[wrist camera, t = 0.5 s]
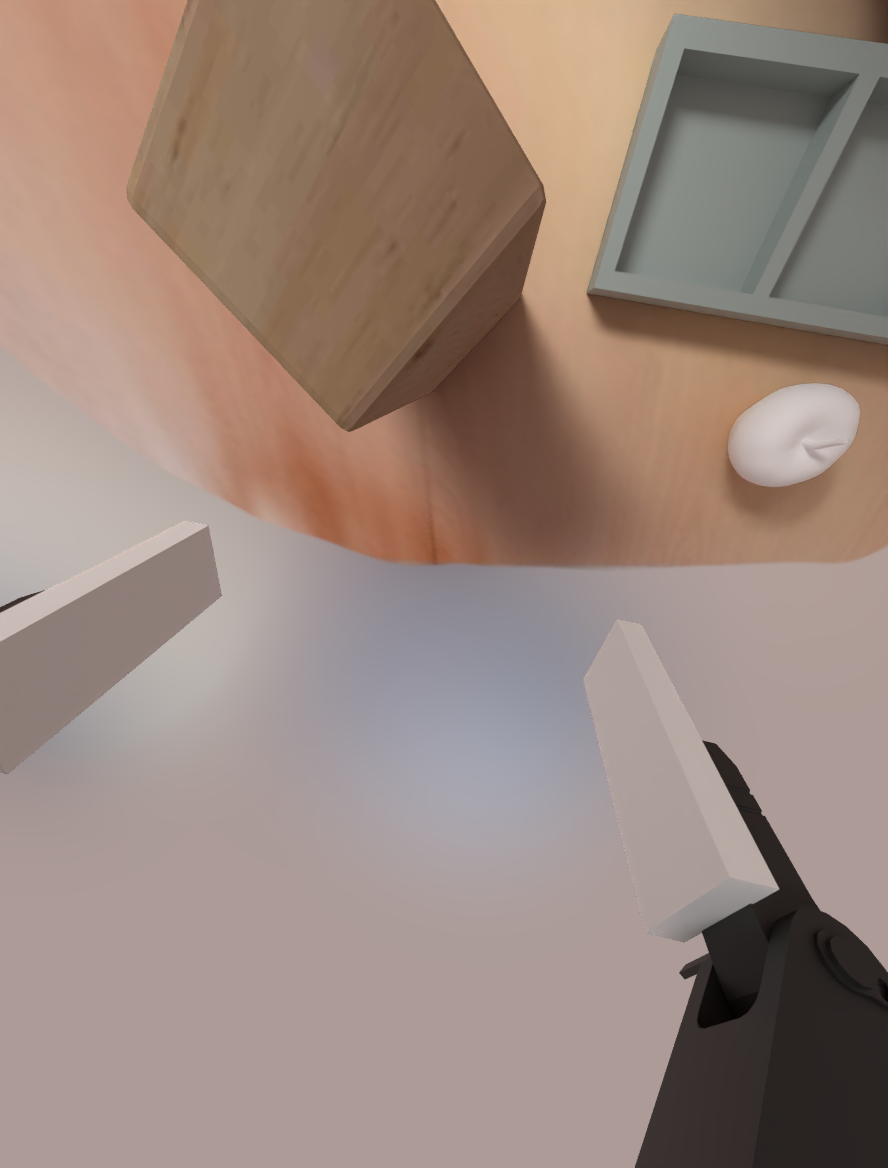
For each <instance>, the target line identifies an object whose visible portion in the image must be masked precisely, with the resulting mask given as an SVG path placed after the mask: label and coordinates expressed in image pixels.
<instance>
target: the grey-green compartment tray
mask: <svg viewBox="0 0 888 1168" xmlns="http://www.w3.org/2000/svg"><path fill="white" fill-rule="evenodd" d="M587 293H588V294H594V295H600V296H605V297H611V298H617V299H623V300H629V301H634V302H640V303H646V304H652V305H658V306H663V307H669V308H675V309H681V310H687V311H692V312H698V313H704V314H710V315H716V316H722V317H727V318H733V319H739V320H745V321H751V322H756V323H762V324H768V325H774V326H780V327H785V328H791V329H797V330H803V331H809V332H814V333H820V334H826V335H832V336H838V337H843V338H849V339H855V340H861V341H867V342H872V343H878V344H884V345H888V44H886V43H879V42H872V41H865V40H858V39H851V38H843V37H836V36H829V35H822V34H815V33H808V32H801V31H794V30H787V29H780V28H773V27H766V26H759V25H752V24H745V23H738V22H731V21H724V20H717V19H710V18H703V17H696V16H689V15H682V14H674V16H673V18H672V20H671V22H670V24H669V26H668V28H667V30H666V32H665V34H664V36H663V38H662V40H661V42H660V44H659V46H658V48H657V50H656V54H655V57H654V61H653V64H652V68H651V71H650V75H649V78H648V81H647V85H646V88H645V92H644V95H643V99H642V102H641V106H640V109H639V113H638V116H637V120H636V123H635V127H634V130H633V134H632V137H631V141H630V144H629V148H628V151H627V155H626V158H625V162H624V165H623V169H622V172H621V175H620V179H619V182H618V186H617V189H616V193H615V196H614V200H613V203H612V207H611V210H610V214H609V217H608V221H607V224H606V228H605V231H604V235H603V238H602V242H601V245H600V249H599V252H598V256H597V259H596V262H595V266H594V269H593V273H592V276H591V280H590V283H589V287H588V290H587Z"/></svg>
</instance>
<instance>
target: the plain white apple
mask: <svg viewBox="0 0 888 1168" xmlns="http://www.w3.org/2000/svg"><path fill="white" fill-rule="evenodd" d="M859 419H860V408H859V404H858V403H857V401H856V400H855V399H854V397H853V396H852V395H851V394H849V393H848V392H846V391H845V390H843V389H842V388H839V387H836V386H833V385H830V384H821V383H808V384H798V385H793V386H788V387H784V388H782V389H779V390H777V391H775V392H772V393H771V394H769V395H768V396H766V397H764V398H763V399H761V400H760V401H758V402H757V403H756V404H754V405H753V406H751V407H750V408H748V409H747V410H746V411H744V412H743V413H742V414H741V415H740V416H739V417H738V418H737V420H736V421H735V422H734V424H733V426H732V428H731V431H730V433H729V438H728V448H727V450H728V455H729V459H730V462H731V464H732V466H733V468H734V469H735V470H736V472H737V473H738V474H739V475H740V476H741V477H742V478H744V479H745V480H747V481H749V482H751V483H754V484H757V485H761V486H767V487H783V486H788V485H792V484H796V483H800V482H803V481H806V480H809V479H811V478H813V477H815V476H818V475H820V474H821V473H823V472H824V471H825V470H827V469H828V468H829V467H830V466H831V465H832V464H833V463H834V462H835V461H836V460H837V459H839V458H840V457H841V456H842V455H843V454H844V453H845V452H846V450H847V449H848V448H849V447H850V446H851V444H852V442H853V440H854V438H855V436H856V433H857V429H858V424H859Z"/></svg>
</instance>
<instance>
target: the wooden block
mask: <svg viewBox="0 0 888 1168" xmlns="http://www.w3.org/2000/svg"><path fill="white" fill-rule="evenodd" d="M126 188H127V199H128V201H129V203H130V205H131V206H132V208H133V209H134V210H135V211H136V212H137V214H138V215H139V216H140V217H141V218H142V219H143V220H144V221H145V222H146V223H147V224H148V225H149V226H150V227H151V228H152V229H153V230H154V231H155V232H156V234H157V235H158V236H159V237H160V238H161V239H162V240H163V241H164V242H165V243H166V244H167V245H168V246H169V247H170V248H171V249H172V250H173V251H174V253H175V254H176V255H177V256H178V257H179V258H180V259H181V260H182V261H183V262H184V263H185V264H186V265H187V266H188V267H189V268H190V269H191V270H192V271H193V273H194V274H195V275H196V276H197V277H198V278H199V279H200V280H201V281H202V282H203V283H204V284H205V285H206V286H207V287H208V288H209V289H210V290H211V292H212V293H213V294H214V295H215V296H216V297H217V298H218V299H219V300H220V301H221V302H222V303H223V304H224V305H225V306H226V307H227V308H228V309H229V311H230V312H231V313H232V314H233V315H234V316H235V317H236V318H237V319H238V320H239V321H240V322H241V323H242V324H243V325H244V326H245V327H246V328H247V329H248V331H249V332H250V333H251V334H252V335H253V336H254V337H255V338H256V339H257V340H258V341H259V342H260V343H261V344H262V345H263V346H264V347H265V348H266V350H267V351H268V352H269V353H270V354H271V355H272V356H273V357H274V358H275V359H276V360H277V361H278V362H279V363H280V364H281V365H282V366H283V367H284V368H285V370H286V371H287V372H288V373H289V374H290V375H291V376H292V377H293V378H294V379H295V380H296V381H297V382H298V383H299V384H300V385H301V386H302V387H303V389H304V390H305V391H306V392H307V393H308V394H309V395H310V396H311V397H312V398H313V399H314V400H315V401H316V402H317V403H318V404H319V405H320V406H321V407H322V409H323V410H324V411H325V412H326V413H327V414H328V415H329V416H330V417H331V418H332V419H333V420H334V421H335V422H336V423H337V424H338V425H339V426H340V427H341V428H342V429H344V430H346V431H348V432H351V431H353V430H355V429H358V428H360V427H362V426H364V425H366V424H368V423H370V422H372V421H374V420H376V419H378V418H380V417H382V416H384V415H386V414H388V413H390V412H392V411H394V410H396V409H398V408H400V407H402V406H404V405H407V404H409V403H411V402H413V401H415V400H417V399H419V398H421V397H423V396H425V395H427V394H429V393H431V392H433V391H434V390H435V389H436V388H437V386H438V385H439V384H440V383H441V382H442V381H443V380H444V379H445V378H446V377H447V376H448V375H449V374H450V373H451V372H452V370H453V369H454V368H455V367H456V366H457V365H458V364H459V363H460V362H461V361H462V360H463V359H464V358H465V357H466V355H467V354H468V353H469V352H470V351H471V350H472V349H473V348H474V347H475V346H476V345H477V344H478V343H479V342H480V341H481V339H482V338H483V337H484V336H485V335H486V334H487V333H488V332H489V331H490V330H491V329H492V328H493V327H494V326H495V324H496V323H497V322H498V321H499V320H500V319H501V318H502V317H503V316H504V315H505V314H506V313H507V312H508V311H509V309H510V308H511V307H512V306H513V305H514V304H515V303H516V302H517V301H518V300H519V298H520V296H521V293H522V290H523V286H524V282H525V278H526V275H527V271H528V267H529V264H530V260H531V256H532V252H533V249H534V245H535V241H536V238H537V234H538V230H539V226H540V223H541V219H542V215H543V212H544V208H545V204H546V199H545V193H544V187H543V184H542V182H541V181H540V179H539V177H538V175H537V174H536V172H535V170H534V169H533V167H532V165H531V163H530V162H529V160H528V158H527V157H526V155H525V153H524V151H523V150H522V148H521V146H520V145H519V143H518V141H517V139H516V138H515V136H514V134H513V133H512V131H511V129H510V127H509V126H508V124H507V122H506V121H505V119H504V117H503V116H502V114H501V112H500V110H499V109H498V107H497V105H496V104H495V102H494V100H493V98H492V97H491V95H490V93H489V92H488V90H487V88H486V86H485V85H484V83H483V81H482V80H481V78H480V76H479V74H478V73H477V71H476V69H475V68H474V66H473V64H472V62H471V61H470V59H469V57H468V56H467V54H466V52H465V51H464V49H463V47H462V45H461V44H460V42H459V40H458V39H457V37H456V35H455V33H454V32H453V30H452V28H451V27H450V25H449V23H448V21H447V20H446V18H445V16H444V15H443V13H442V11H441V9H440V8H439V6H438V4H437V3H436V1H435V0H188V1H187V4H186V7H185V10H184V13H183V16H182V19H181V23H180V26H179V29H178V32H177V35H176V38H175V41H174V44H173V47H172V50H171V53H170V56H169V59H168V62H167V65H166V68H165V71H164V74H163V77H162V80H161V83H160V87H159V90H158V93H157V96H156V99H155V102H154V105H153V108H152V111H151V114H150V117H149V120H148V123H147V126H146V129H145V132H144V135H143V138H142V141H141V144H140V147H139V150H138V154H137V157H136V160H135V163H134V166H133V169H132V172H131V175H130V178H129V181H128V184H127V187H126Z"/></svg>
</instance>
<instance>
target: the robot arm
mask: <svg viewBox="0 0 888 1168" xmlns="http://www.w3.org/2000/svg"><path fill="white" fill-rule="evenodd" d="M221 596H222V595H221V589H220V584H219V579H218V574H217V568H216V563H215V558H214V552H213V547H212V542H211V536H210V531H209V526H208V525H204V524H200V523H195V522H191V521H186V520H185V521H183V522H181V523H179V524H177V525H175V526H173V527H171V528H169V529H167V530H165V531H163V532H161V533H159V534H157V535H155V536H153V537H151V538H149V539H147V540H145V541H143V542H141V543H139V544H137V545H135V546H133V547H131V548H129V549H127V550H125V551H123V552H121V553H119V554H117V555H115V556H113V557H111V558H109V559H107V560H105V561H103V562H101V563H99V564H97V565H95V566H93V567H91V568H89V569H87V570H85V571H83V572H81V573H79V574H77V575H75V576H73V577H71V578H69V579H67V580H65V581H63V582H61V583H59V584H57V585H55V586H53V587H51V588H49V589H47V590H44V591H41V592H37V593H34V594H31V595H28V596H25V597H21V598H18V599H17V600H15V601H12V602H10V603H8V604H6V605H4V606H2V607H0V772H2V773H5V774H8V773H9V772H11V771H12V770H13V769H14V768H16V767H17V766H18V765H19V764H20V763H22V762H23V761H24V760H25V759H26V758H28V757H29V756H30V755H31V754H32V753H34V752H35V751H36V750H37V749H38V748H40V747H41V746H42V745H43V744H44V743H46V742H47V741H48V740H49V739H50V738H52V737H53V736H54V735H55V734H56V733H58V732H59V731H60V730H61V729H62V728H63V727H65V726H66V725H67V724H68V723H69V722H71V721H72V720H73V719H74V718H75V717H77V716H78V715H79V714H80V713H82V712H83V711H84V710H85V709H86V708H88V707H89V706H90V705H91V704H92V703H94V702H95V701H96V700H97V699H98V698H100V697H101V696H102V695H103V694H104V693H106V692H107V691H108V690H109V689H110V688H112V687H113V686H114V685H115V684H116V683H118V682H119V681H120V680H121V679H122V678H124V677H125V676H126V675H127V674H128V673H130V672H131V671H132V670H133V669H134V668H136V667H137V666H138V665H139V664H141V663H142V662H143V661H144V660H145V659H147V658H148V657H149V656H150V655H151V654H153V653H154V652H155V651H156V650H157V649H159V648H160V647H161V646H162V645H163V644H165V643H166V642H167V641H168V640H169V639H170V638H172V637H173V636H174V635H175V634H176V633H178V632H179V631H180V630H181V629H183V628H184V627H185V626H186V625H187V624H189V623H190V622H191V621H192V620H193V619H194V618H196V617H197V616H198V615H199V614H201V613H202V612H203V611H204V610H205V609H206V608H208V607H209V606H210V605H211V604H213V603H214V602H215V601H216V600H217V599H219V597H221ZM583 682H584V687H585V691H586V695H587V699H588V703H589V707H590V711H591V715H592V719H593V723H594V727H595V731H596V735H597V739H598V743H599V747H600V751H601V756H602V759H603V764H604V768H605V772H606V776H607V779H608V784H609V788H610V792H611V796H612V800H613V804H614V808H615V812H616V816H617V820H618V824H619V828H620V832H621V836H622V841H623V845H624V849H625V853H626V856H627V861H628V865H629V869H630V873H631V877H632V881H633V885H634V889H635V893H636V897H637V901H638V905H639V909H640V913H641V917H642V922H643V926H644V930H645V933H648V934H652V935H656V936H660V937H664V938H668V939H672V940H676V941H680V942H686V941H688V940H689V939H691V938H693V937H695V936H697V935H698V934H700V933H702V934H703V936H704V939H705V942H706V945H707V948H708V951H709V953H708V954H706V955H704V956H702V957H700V958H698V959H696V960H694V961H692V962H690V963H688V964H686V965H685V966H684V967H683V969H682V970H681V971H680V974H681V976H682V977H683V978H684V979H687V978H689V977H691V976H694V975H696V974H697V976H696V979H695V982H694V985H693V989H692V992H691V995H690V998H689V1001H688V1004H687V1007H686V1010H685V1013H684V1016H683V1020H682V1022H681V1026H680V1029H679V1032H678V1035H677V1038H676V1041H675V1044H674V1047H673V1050H672V1054H671V1057H670V1060H669V1063H668V1066H667V1069H666V1072H665V1075H664V1078H663V1082H662V1085H661V1088H660V1091H659V1094H658V1097H657V1100H656V1103H655V1107H654V1110H653V1113H652V1116H651V1119H650V1122H649V1125H648V1128H647V1132H646V1135H645V1138H644V1141H643V1144H642V1147H641V1150H640V1153H639V1156H638V1159H637V1162H636V1165H635V1168H888V972H886V970H885V968H884V967H883V966H882V965H881V963H880V962H879V961H878V960H877V958H876V957H875V956H874V955H873V953H872V952H871V951H870V949H869V948H868V947H867V946H866V945H865V944H864V943H863V942H862V941H861V940H860V939H859V938H858V937H857V936H856V935H855V934H854V933H853V932H851V931H850V930H849V929H848V928H847V927H846V926H845V925H843V924H842V923H840V922H839V921H837V920H836V919H834V918H833V917H831V916H830V915H828V914H827V913H824V912H821V911H820V910H819V908H818V907H817V905H816V904H815V902H814V901H813V899H812V898H811V896H810V894H809V892H808V890H807V889H806V887H805V885H804V884H803V882H802V880H801V878H800V877H799V875H798V873H797V871H796V870H795V868H794V866H793V864H792V863H791V861H790V859H789V857H788V856H787V854H786V852H785V851H784V849H783V847H782V845H781V844H780V842H779V840H778V838H777V837H776V835H775V833H774V831H773V830H772V828H771V826H770V824H769V822H768V821H767V819H766V817H765V816H762V814H761V811H762V810H761V809H760V807H759V805H758V803H757V801H756V800H755V798H754V796H753V795H750V793H749V792H750V789H749V788H748V786H747V784H746V782H745V781H744V779H743V777H742V775H741V774H740V772H739V770H738V768H737V767H736V765H735V764H734V763H733V762H732V761H731V760H730V759H729V758H728V757H727V755H726V754H725V753H724V752H723V751H722V750H721V749H720V748H719V747H718V745H717V744H715V743H710V742H706V741H702V740H701V738H700V736H699V734H698V732H697V730H696V728H695V726H694V724H693V723H692V720H691V719H690V717H689V715H688V713H687V711H686V709H685V707H684V705H683V703H682V701H681V699H680V697H679V696H678V694H677V692H676V690H675V688H674V686H673V684H672V682H671V680H670V678H669V676H668V674H667V673H666V671H665V669H664V667H663V665H662V663H661V661H660V659H659V657H658V655H657V653H656V652H655V650H654V648H653V646H652V644H651V642H650V640H649V638H648V636H647V634H646V632H645V630H644V629H643V627H642V625H641V624H637V623H633V622H628V621H624V620H620V619H616V621H615V623H614V625H613V627H612V628H611V630H610V632H609V634H608V636H607V637H606V639H605V641H604V643H603V645H602V646H601V648H600V650H599V652H598V654H597V655H596V657H595V659H594V661H593V663H592V664H591V666H590V668H589V670H588V672H587V673H586V675H585V677H584V679H583Z"/></svg>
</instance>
